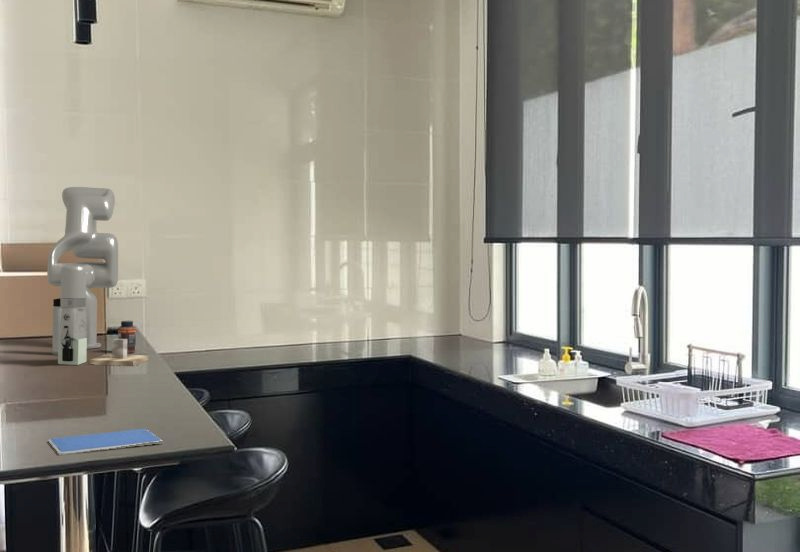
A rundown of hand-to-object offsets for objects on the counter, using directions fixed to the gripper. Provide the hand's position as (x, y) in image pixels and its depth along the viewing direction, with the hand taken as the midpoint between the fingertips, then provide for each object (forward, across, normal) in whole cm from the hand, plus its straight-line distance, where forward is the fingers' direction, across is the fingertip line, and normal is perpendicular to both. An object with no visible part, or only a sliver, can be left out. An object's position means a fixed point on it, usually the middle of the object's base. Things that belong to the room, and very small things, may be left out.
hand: (72, 358), depth 256 cm
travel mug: (+2, +20, +12) cm, 23 cm away
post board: (+1, +6, -13) cm, 14 cm away
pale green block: (+1, 0, 0) cm, 1 cm away
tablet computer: (+2, -98, -49) cm, 110 cm away
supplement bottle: (+2, +29, -7) cm, 30 cm away
